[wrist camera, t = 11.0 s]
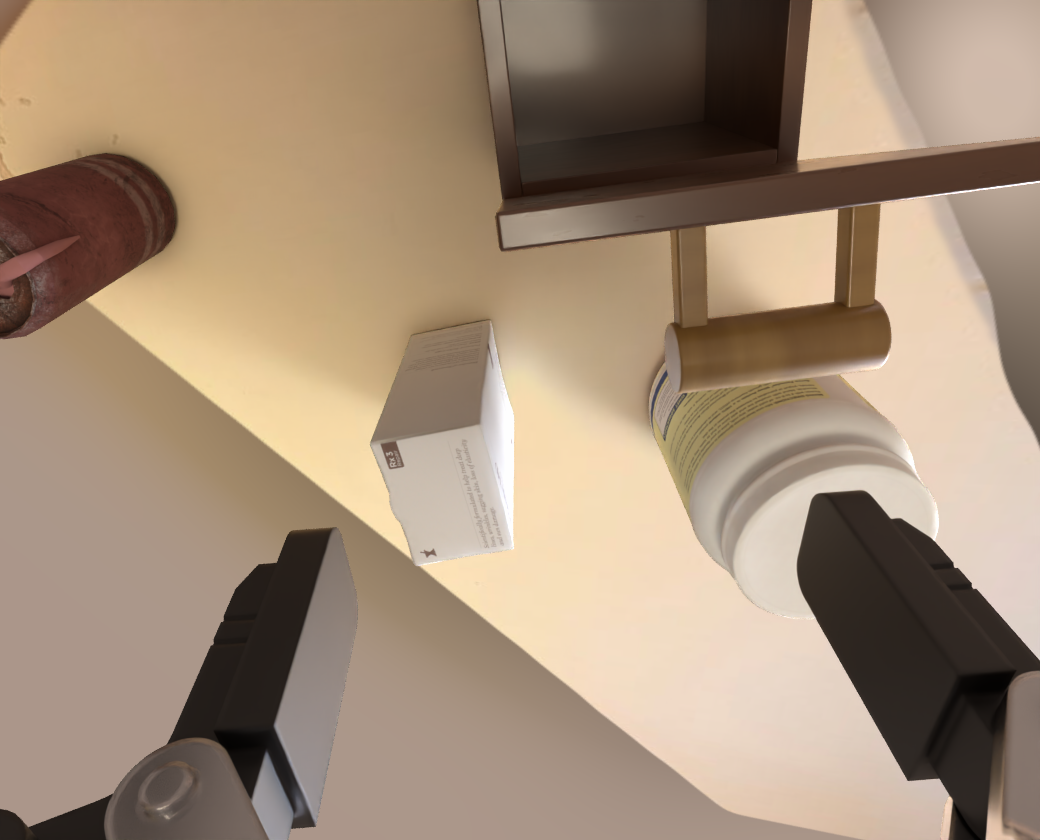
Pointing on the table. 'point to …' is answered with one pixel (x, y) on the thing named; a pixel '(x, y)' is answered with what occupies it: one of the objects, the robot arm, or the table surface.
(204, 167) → the table surface
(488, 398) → the cosmetic box
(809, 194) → the lid
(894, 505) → the supplement tub
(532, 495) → the table surface
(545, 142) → the chest
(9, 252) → the can
